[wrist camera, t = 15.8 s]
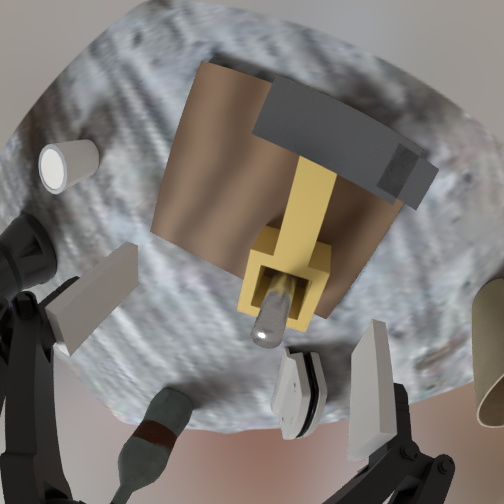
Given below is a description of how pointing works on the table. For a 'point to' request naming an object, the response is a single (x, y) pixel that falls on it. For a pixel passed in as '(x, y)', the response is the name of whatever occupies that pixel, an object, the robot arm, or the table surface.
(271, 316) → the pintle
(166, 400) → the bottle
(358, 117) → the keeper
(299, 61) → the table surface
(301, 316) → the link
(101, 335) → the table surface
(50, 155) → the white cylinder
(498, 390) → the plant pot
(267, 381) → the table surface
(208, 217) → the board
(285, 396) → the white d-shaped block
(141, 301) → the table surface
